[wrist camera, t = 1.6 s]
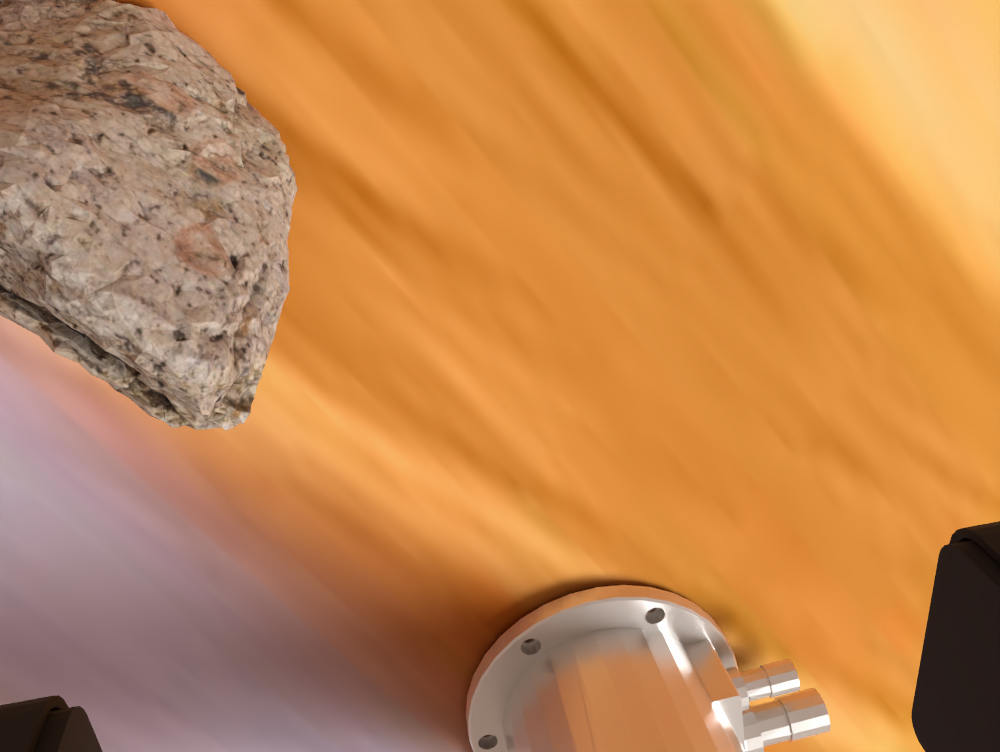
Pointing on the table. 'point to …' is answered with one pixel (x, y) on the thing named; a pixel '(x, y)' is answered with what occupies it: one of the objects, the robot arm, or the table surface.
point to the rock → (139, 207)
